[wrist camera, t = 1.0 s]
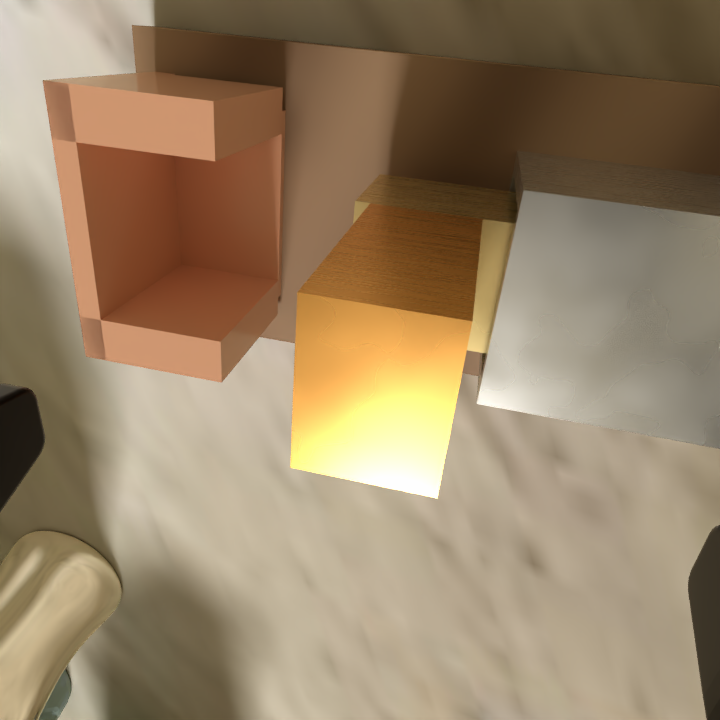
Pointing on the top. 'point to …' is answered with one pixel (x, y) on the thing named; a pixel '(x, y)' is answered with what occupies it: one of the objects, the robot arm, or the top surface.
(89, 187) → the terracotta socket
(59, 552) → the beer glass
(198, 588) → the top surface
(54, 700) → the teal mug
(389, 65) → the walnut board
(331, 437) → the wooden blocks
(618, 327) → the steel sleeve
